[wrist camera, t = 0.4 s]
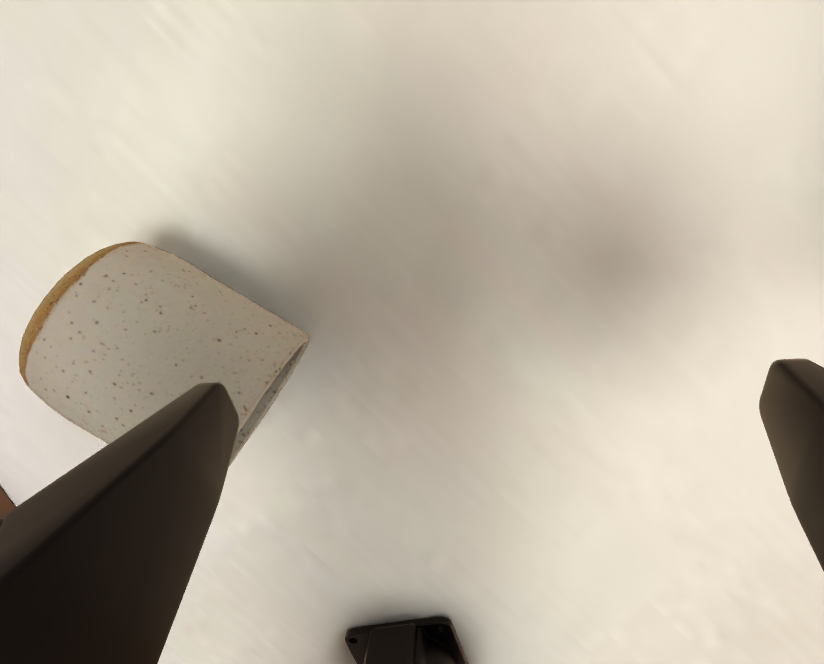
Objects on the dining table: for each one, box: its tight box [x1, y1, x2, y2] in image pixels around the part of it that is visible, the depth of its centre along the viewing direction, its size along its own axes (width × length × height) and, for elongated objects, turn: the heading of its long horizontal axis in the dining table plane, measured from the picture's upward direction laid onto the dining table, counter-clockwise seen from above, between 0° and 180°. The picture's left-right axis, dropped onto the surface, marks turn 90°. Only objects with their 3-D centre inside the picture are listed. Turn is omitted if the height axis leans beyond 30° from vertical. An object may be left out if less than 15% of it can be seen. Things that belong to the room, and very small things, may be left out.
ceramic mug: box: [19, 242, 309, 467], centre depth 21 cm, size 11×8×8 cm
